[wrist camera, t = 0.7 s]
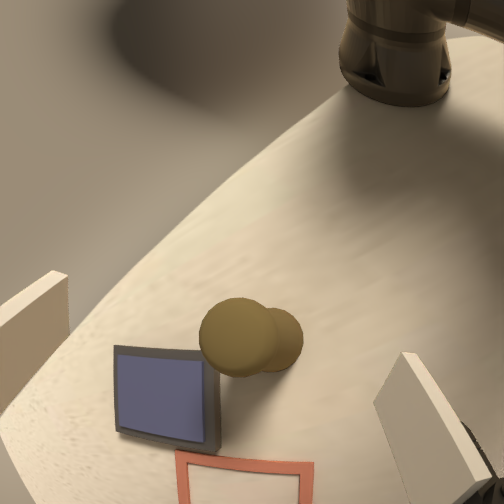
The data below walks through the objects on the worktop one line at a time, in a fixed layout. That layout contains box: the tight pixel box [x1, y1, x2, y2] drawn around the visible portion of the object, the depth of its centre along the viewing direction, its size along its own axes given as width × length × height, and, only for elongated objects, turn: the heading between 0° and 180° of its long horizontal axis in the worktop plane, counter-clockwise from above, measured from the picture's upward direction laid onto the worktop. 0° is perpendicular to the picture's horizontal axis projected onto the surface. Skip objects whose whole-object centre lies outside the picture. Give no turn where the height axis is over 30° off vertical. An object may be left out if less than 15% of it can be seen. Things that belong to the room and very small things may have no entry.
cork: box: [199, 298, 303, 377], centre depth 23 cm, size 6×6×11 cm
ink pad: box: [114, 345, 221, 452], centre depth 29 cm, size 12×10×2 cm
